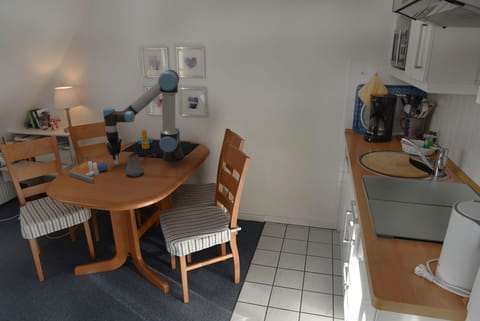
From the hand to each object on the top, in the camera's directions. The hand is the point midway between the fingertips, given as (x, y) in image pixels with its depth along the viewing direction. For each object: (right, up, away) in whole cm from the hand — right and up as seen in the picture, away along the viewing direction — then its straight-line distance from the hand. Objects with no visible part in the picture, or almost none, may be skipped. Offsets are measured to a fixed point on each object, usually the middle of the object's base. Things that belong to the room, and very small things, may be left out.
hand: (116, 163), depth 236 cm
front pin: (-8, -5, -12) cm, 15 cm away
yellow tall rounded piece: (+9, +12, +41) cm, 44 cm away
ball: (-6, -2, -9) cm, 11 cm away
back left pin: (-8, -8, -15) cm, 19 cm away
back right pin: (-12, -7, -13) cm, 19 cm away
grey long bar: (-14, -10, -21) cm, 27 cm away
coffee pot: (+23, -7, -15) cm, 28 cm away
